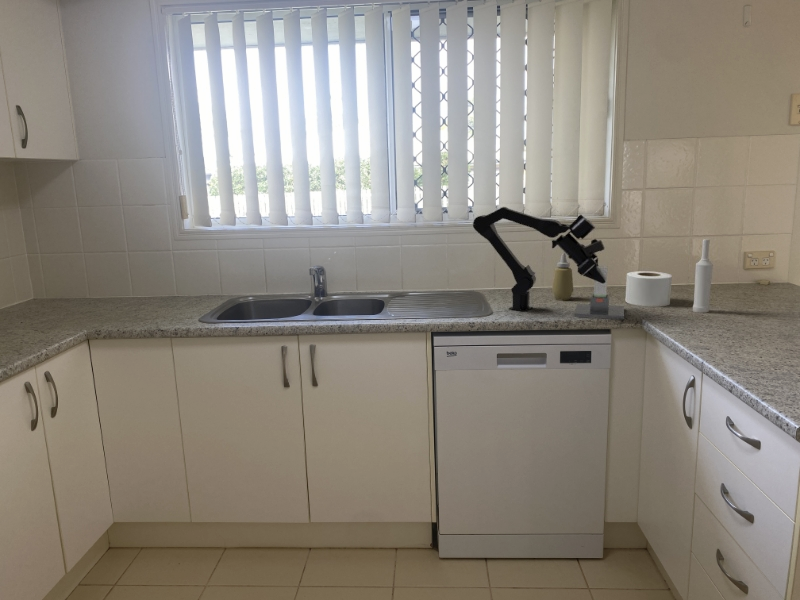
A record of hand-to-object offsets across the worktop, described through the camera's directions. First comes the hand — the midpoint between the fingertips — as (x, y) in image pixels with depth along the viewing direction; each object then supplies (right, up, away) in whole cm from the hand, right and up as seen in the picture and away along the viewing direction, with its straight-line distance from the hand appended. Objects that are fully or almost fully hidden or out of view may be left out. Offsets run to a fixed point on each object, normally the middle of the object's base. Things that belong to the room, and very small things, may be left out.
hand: (604, 280), depth 200 cm
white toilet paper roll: (+22, -8, +18) cm, 29 cm away
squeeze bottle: (-7, -6, +28) cm, 29 cm away
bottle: (+34, -11, +1) cm, 35 cm away
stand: (-1, -11, +3) cm, 12 cm away
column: (-1, -6, +2) cm, 6 cm away
